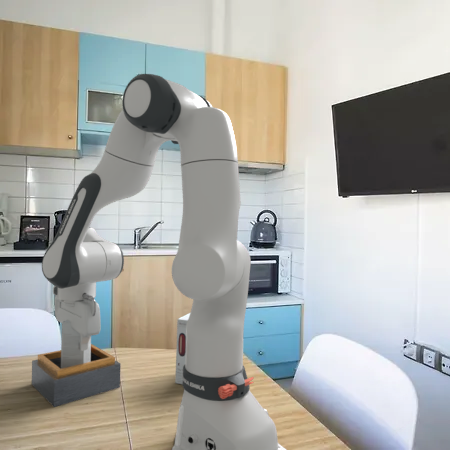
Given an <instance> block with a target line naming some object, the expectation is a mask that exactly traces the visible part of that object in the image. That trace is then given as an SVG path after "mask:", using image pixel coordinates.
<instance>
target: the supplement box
mask: <svg viewBox="0 0 450 450" xmlns="http://www.w3.org/2000/svg"><path fill="white" fill-rule="evenodd" d="M190 313H191V312H188V313H187V314H185V315H183V316H181V317H179V318H177V322H176V323H177V325H176V328H177V329H176V350H175V351H176V352H175V354H176V355H175V381H174V384H178V385H179V384H180V385H182V373H183V366H184V365H185V356H186V325H187V321H188V319H189V316H190Z"/></svg>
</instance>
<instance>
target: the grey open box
mask: <svg viewBox="0 0 450 450" xmlns="http://www.w3.org/2000/svg"><path fill="white" fill-rule="evenodd" d="M31 385H32V387H33V388H35V390H37V391H38V392H39V394H40V395H41V396H42V397H43V398H44V399H45V400H47V402H49V404H50V405H51V406H52V407H53V408H56V407H60V406H64V405H66V404H69V403H73V402H76V401H79V400H83V399H85V398H89V397H93V396H96V395H99V394H102V393H105V392H108V391H109V392H110V391H113V390H115V389H118V388H119V389H120V388H121V363H120V362H119V361H117V360H116V357H115V356H114V355H111V354H110V353H108V352H107V351H105V350H103V349H101V348H99V347H97V346H96V345H94V344H92V343H91V362H87V363H83V364H79V365H75V366H70V367H66V368H62V369H61V349H60V350H55V351H50V352H45V353H41V354H37V358H36V359H35V360H32V361H31Z"/></svg>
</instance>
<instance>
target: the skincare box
mask: <svg viewBox="0 0 450 450" xmlns="http://www.w3.org/2000/svg"><path fill="white" fill-rule="evenodd" d="M80 340H81V337H80V333H79V332H77V331H75V330H73V329H72V328H71V322H69V321H67V320H66V321H63V322H62V323H61V344H60V345H61V347H60V348H61V349H60V350H61V369H62V368H66V367H70V366H75V365H79V364H83V363H87V362H91V344H92V336H91V337H90V340H89V342H88V349H87V350H84V351H81V350H80V349H79V348H78V347H79V342H80Z"/></svg>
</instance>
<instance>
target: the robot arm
mask: <svg viewBox="0 0 450 450" xmlns="http://www.w3.org/2000/svg"><path fill="white" fill-rule="evenodd" d="M122 94H123V95H122V103H121V104H122V105H121V106H122V110H121V111H120V112H119V114H118V116H117V118H116V120H115V122H114V124H113V126H112V128H111V131H110V132H109V136H108V138H107V140H106V141H107V142H106V145H105V148H104V151H103V155H102V157H101V159H100V161H99V163H98V164H97V166H96V167H95V168H94V169H93V171H91V172H90V173H89V174H87V175H85V176H84V177H83V178H82V179H81V181H80V183H78V186H77V188H76V190H75V192H74V193H73V196H72V198H71V201H70V203H69V205H68V208H67V210H66V211H65V215H63V218H62V221H61V223H60V226H59V227H58V230H57V233H55V234H56V235H55V236H54V239H53V240H52V242H50V244H49V246H48V247H47V249H46V251H45V253H44V254H43V256H42V261H41V271H42V274H43V276H44V278H45V279H46V280H47V281H48V282H49V283H50V284H51V285H52V286H53V288H52V293H53V295H54V316H55V319H56V321H57V322H59V323H61V324H62V322H63V321H66V320H67V321H69V322H71V328H72V329H73V330H75V331H77V332H79V333H80V337H81V340H80V342H79V347H78V348H79V349H80V350H81V351H84V350H87V349H88V342H89V340H90V337H91V338H92V336H97V335H99V334H100V333H101V329H102V328H101V309H100V304H99V303H98V301H96V300H95V298H96V296H97V283H99V282H107V281H112V280H114V279H117V278H118V277H119V276H120V275H121V273H122V271H123V269H124V264H125V256H124V252H123V250H122V248H121V247H120V245H118V244H117V243H115V242H111V241H109V240H107V239H106V238H103V237H102V236H101V235H99V234H98V233H97V231H96V229H95V228H94V227H91V225H92V221H93V220H94V218H95V216H96V214H97V213H98V212H100V211H101V209H102V210H103V208H104V207H107V206H109V205H111V204H113V203H116V202H118V201H121V200H125V199H128V198H131V197H133V196H135V195H138V194H139V193H141V192H142V191H143V190H144V189H145V187H147V184H148V182H149V181H150V179H151V175H152V172H153V170H154V165H155V163H156V160H157V159H156V158H157V155H158V152H159V150H160V148H161V146H162V145H163V144H164V143H166V142H169V141H171V143H172V144H174V145H179V151H180V166H181V167H180V170H181V171H180V172H181V185H182V186H181V188H182V191H181V192H182V216H181V225H180V231H179V232H180V233H179V241H178V247H177V251H176V255H175V256H174V258H173V260H172V265H171V276H172V281H173V283H174V285H175V287H176V288H177V290H178V291H179V292H180V293H181V294H182V295H184V296H185V297H186V298H189V299H191V300H193V301H192V305H191V309H190V312H189V313H190V316H189V319H188V321H187V325H186V356H185V365H184V366H183V373H182V384H181V385H182V388H183V393H182V398H181V402H180V405H179V409H178V415H177V425H176V430H175V431H176V432H175V433H176V434H175V438H174V444H173V446H172V447H171V450H287V448H285V447H284V446H282V444H280V443H279V441H278V431H277V426H276V424H275V421H274V420H273V419H272V417H270V415H269V412H268V410H267V409H266V408H264V407H263V406H262V405H261V404H260V403H259V401H258V400H257V398H256V397H255V396H254V394H253V393H252V392H251V390H250V389H251V388H250V385H252V384H254V381H252V380H254V376H252V377H248V375H247V371H246V368H245V366H244V362H243V361H244V332H245V331H244V330H245V327H244V326H245V318H246V310H247V305H248V296H249V294H248V293H249V285H250V275H251V273H250V271H251V264H252V263H251V255H250V252H249V250H248V249H247V247H246V246H245V245H244V244H243V243H242V242H241V241H240V240H238V228H239V227H238V225H239V216H240V215H239V214H240V209H241V205H242V202H241V191H240V190H241V188H240V186H241V185H240V175H239V174H240V172H239V159H238V158H239V157H238V151H237V143H236V138H235V134H234V133H235V132H234V130H233V126H232V122H231V119H230V117H229V115H228V114H227V113H226V112H225V111H224V110H222V109H220V108H217V107H214V106H213V105H212V104H211V102H210V101H208V100H207V99H206V98H205V97H204V96H202V95H199V94H196V93H195V92H194V91H192V90H190V89H188V88H187V87H186V86H184V85H182V84H180V83H178V82H175V81H172V80H170V79H166V78H164V77H163V76H161V75H158V74H152V73H141V74H138V75H135V76H134V77H132V79H131V80H129V81H128V83H127V85H126V87H125V89H124V91H123V93H122Z"/></svg>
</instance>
